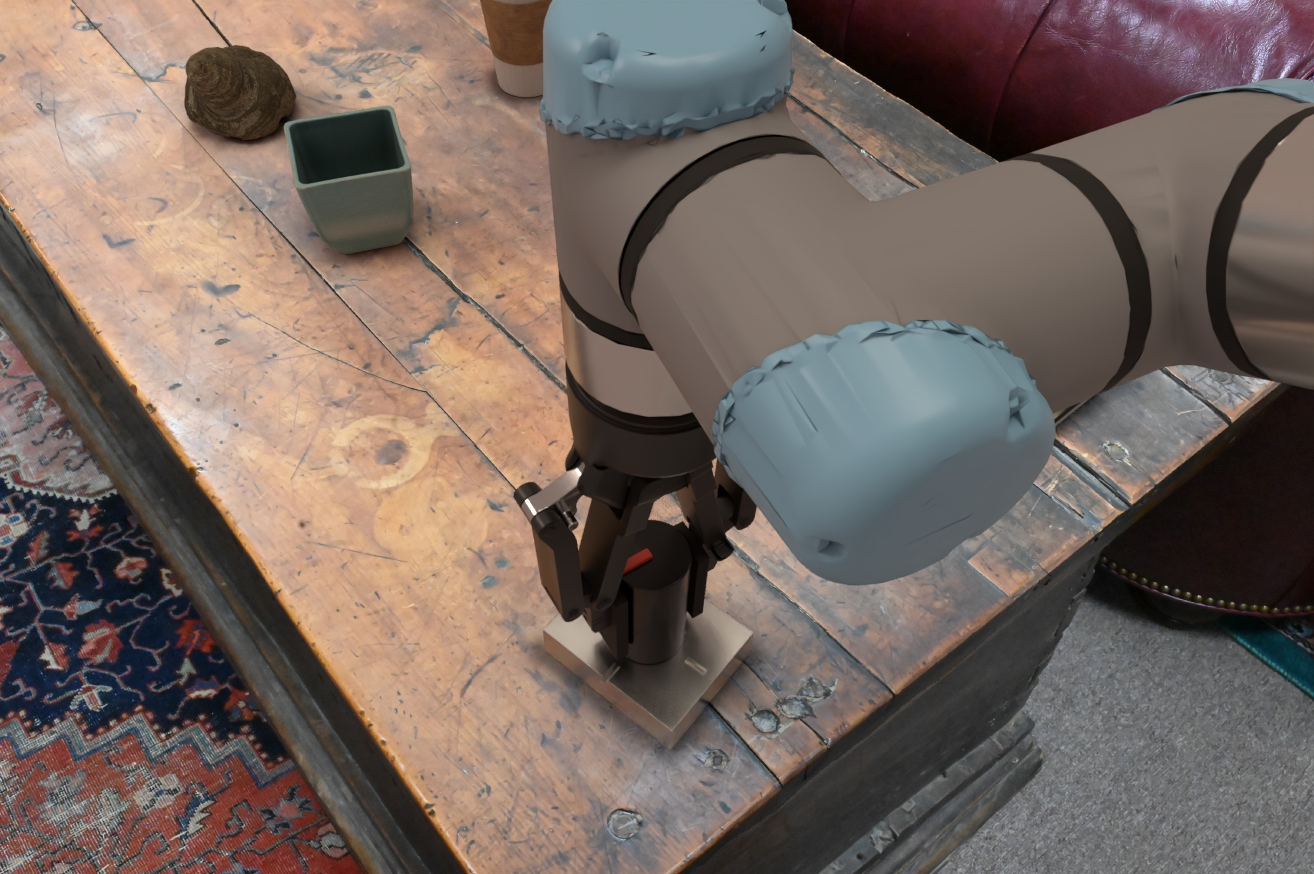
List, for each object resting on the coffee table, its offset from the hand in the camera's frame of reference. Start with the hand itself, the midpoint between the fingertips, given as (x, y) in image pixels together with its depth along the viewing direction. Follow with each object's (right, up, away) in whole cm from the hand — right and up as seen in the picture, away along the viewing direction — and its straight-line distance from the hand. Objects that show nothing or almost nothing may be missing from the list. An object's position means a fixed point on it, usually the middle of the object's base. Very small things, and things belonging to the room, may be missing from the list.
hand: (648, 617), depth 60 cm
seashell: (-37, +42, +37) cm, 67 cm away
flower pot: (-24, +28, +27) cm, 46 cm away
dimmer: (0, -1, +1) cm, 2 cm away
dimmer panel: (0, -3, +4) cm, 5 cm away
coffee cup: (-12, +46, +41) cm, 63 cm away
